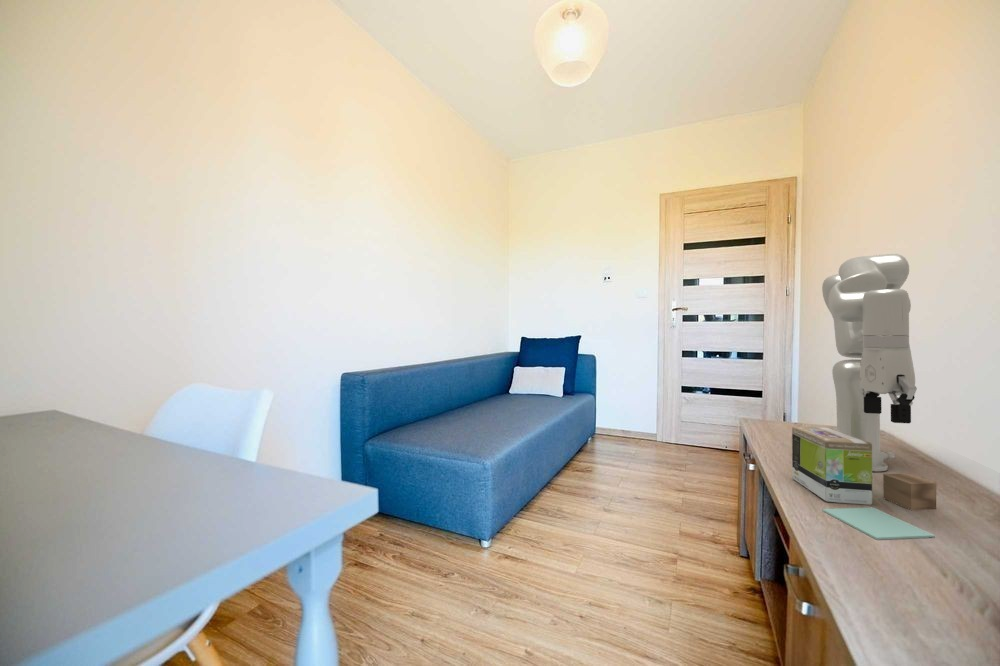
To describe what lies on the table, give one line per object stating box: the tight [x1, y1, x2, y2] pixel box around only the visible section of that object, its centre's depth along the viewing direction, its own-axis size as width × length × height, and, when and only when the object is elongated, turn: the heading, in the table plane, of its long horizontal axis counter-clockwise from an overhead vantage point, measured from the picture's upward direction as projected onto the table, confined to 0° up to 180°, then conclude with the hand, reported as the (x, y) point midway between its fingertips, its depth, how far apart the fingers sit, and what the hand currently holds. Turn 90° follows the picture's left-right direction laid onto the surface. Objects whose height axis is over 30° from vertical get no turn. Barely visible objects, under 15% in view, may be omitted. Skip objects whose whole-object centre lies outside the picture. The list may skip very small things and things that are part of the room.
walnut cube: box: [882, 472, 937, 511], centre depth 90 cm, size 6×6×6 cm
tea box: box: [791, 426, 873, 506], centre depth 97 cm, size 15×10×15 cm, turn 168°
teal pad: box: [821, 506, 936, 541], centre depth 81 cm, size 12×12×1 cm
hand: (885, 417), depth 88 cm, fingers open, 9 cm apart
